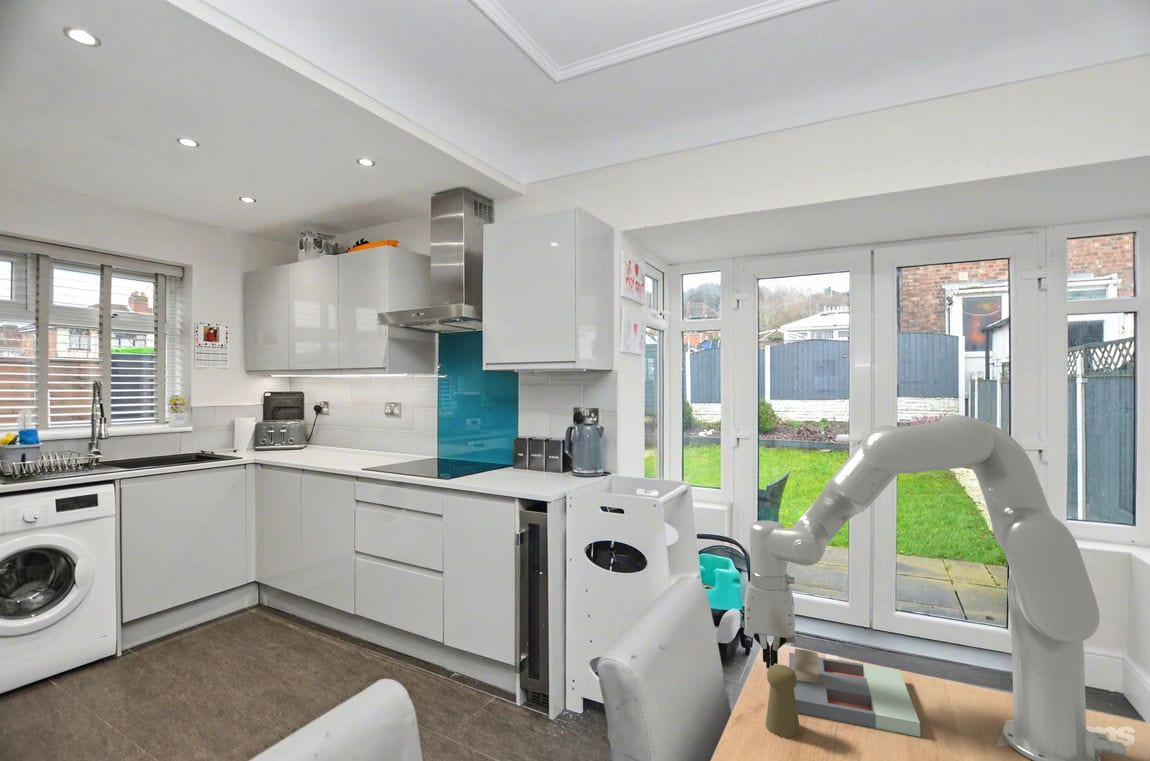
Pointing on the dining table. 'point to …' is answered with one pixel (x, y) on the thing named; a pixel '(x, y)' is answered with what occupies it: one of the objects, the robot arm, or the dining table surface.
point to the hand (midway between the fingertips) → (770, 665)
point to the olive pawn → (782, 702)
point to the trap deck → (858, 696)
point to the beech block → (807, 666)
